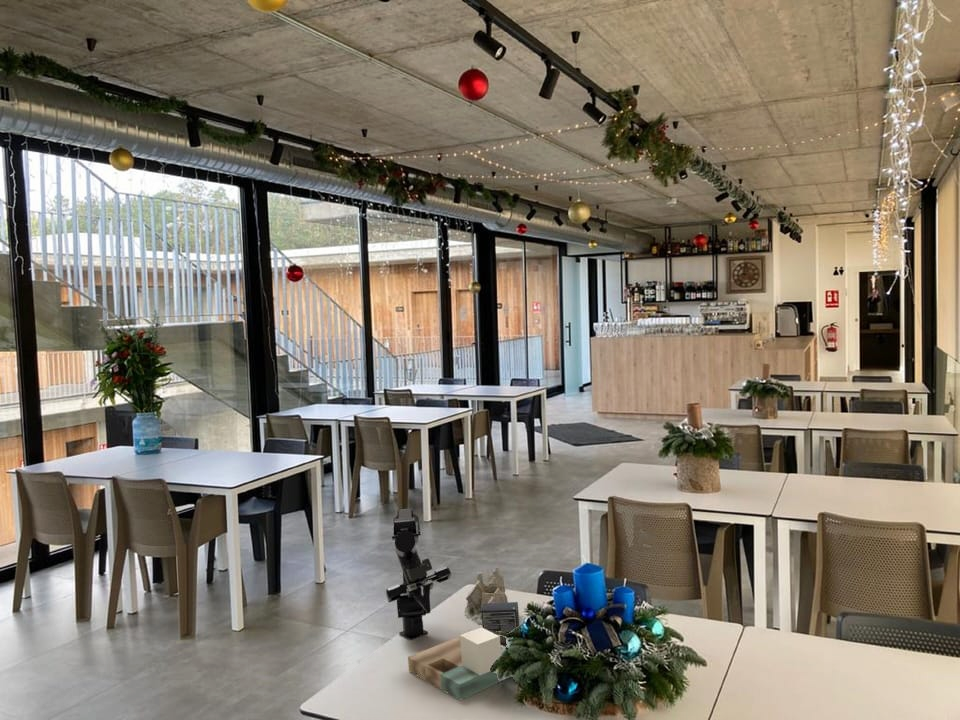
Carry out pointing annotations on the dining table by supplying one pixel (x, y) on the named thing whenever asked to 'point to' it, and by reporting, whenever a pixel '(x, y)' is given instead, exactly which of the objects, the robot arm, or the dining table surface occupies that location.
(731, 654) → the dining table surface
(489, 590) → the ceramic cottage
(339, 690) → the dining table surface
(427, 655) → the trap board
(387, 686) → the dining table surface
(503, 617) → the small box
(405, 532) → the robot arm
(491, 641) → the cream block
